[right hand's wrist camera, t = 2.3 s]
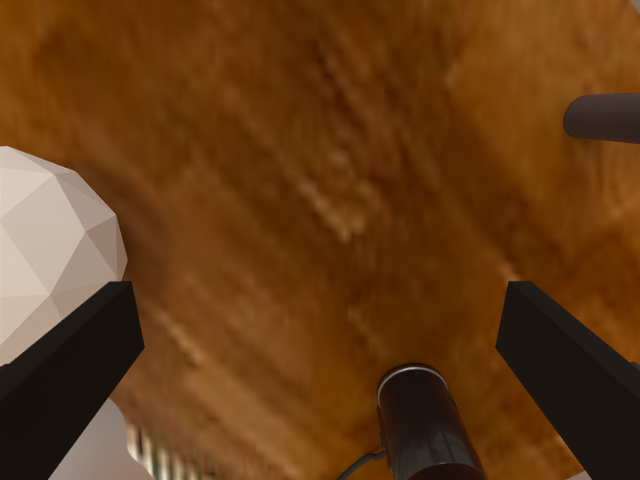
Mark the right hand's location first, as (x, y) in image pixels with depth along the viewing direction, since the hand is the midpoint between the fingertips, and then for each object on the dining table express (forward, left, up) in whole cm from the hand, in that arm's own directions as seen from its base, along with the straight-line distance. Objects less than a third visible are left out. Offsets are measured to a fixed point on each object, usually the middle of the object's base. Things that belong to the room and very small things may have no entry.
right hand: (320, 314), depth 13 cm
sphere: (+6, -28, -28) cm, 40 cm away
